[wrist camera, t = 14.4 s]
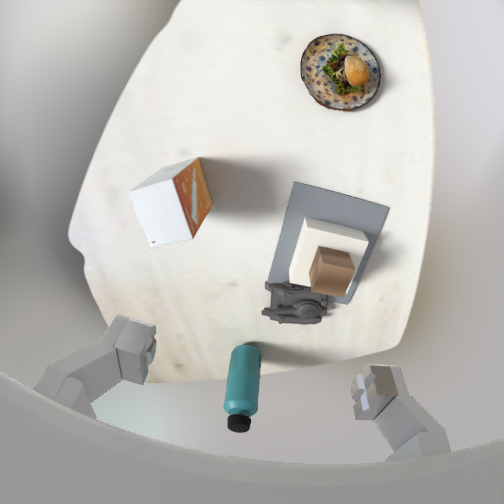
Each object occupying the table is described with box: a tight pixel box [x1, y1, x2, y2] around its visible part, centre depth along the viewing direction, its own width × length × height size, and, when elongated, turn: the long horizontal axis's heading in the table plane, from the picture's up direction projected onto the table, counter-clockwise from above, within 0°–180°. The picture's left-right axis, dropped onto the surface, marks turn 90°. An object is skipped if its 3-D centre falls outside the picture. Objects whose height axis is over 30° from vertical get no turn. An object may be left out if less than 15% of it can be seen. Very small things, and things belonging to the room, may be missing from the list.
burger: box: [301, 34, 381, 111], centre depth 33 cm, size 12×12×8 cm
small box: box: [129, 157, 213, 248], centre depth 40 cm, size 8×6×13 cm
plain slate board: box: [267, 182, 388, 305], centre depth 50 cm, size 20×16×1 cm
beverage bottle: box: [224, 345, 262, 433], centre depth 54 cm, size 6×7×20 cm
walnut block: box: [309, 246, 355, 298], centre depth 44 cm, size 5×5×5 cm
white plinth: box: [289, 217, 369, 294], centre depth 48 cm, size 10×10×4 cm
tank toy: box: [262, 281, 329, 325], centre depth 53 cm, size 12×10×5 cm
